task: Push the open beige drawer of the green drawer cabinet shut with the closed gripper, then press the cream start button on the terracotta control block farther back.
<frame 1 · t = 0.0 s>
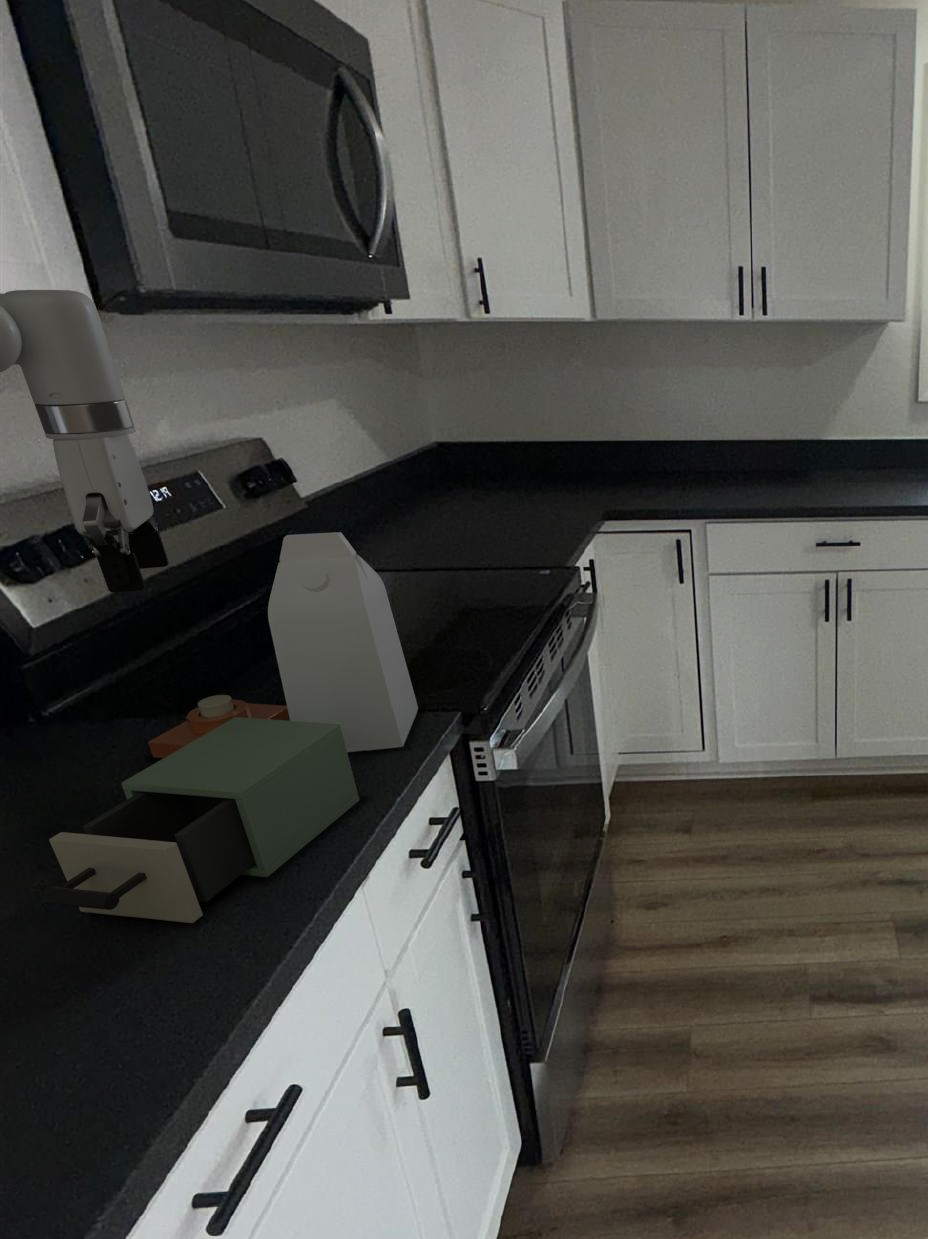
hand: (141, 578, 99), 23 cm above the counter, tool pointing down, fingers open, 9 cm apart
beige drawer: (164, 852, 81), point 5 cm above the counter, slide at 7.0 cm
control block: (226, 738, 113), on the counter
start button: (216, 706, 111), point 4 cm above the counter, slide at 0.1 cm
milk: (361, 733, 115), on the counter
green drawer cabinet: (262, 831, 93), on the counter
coffee jar: (370, 687, 128), on the counter
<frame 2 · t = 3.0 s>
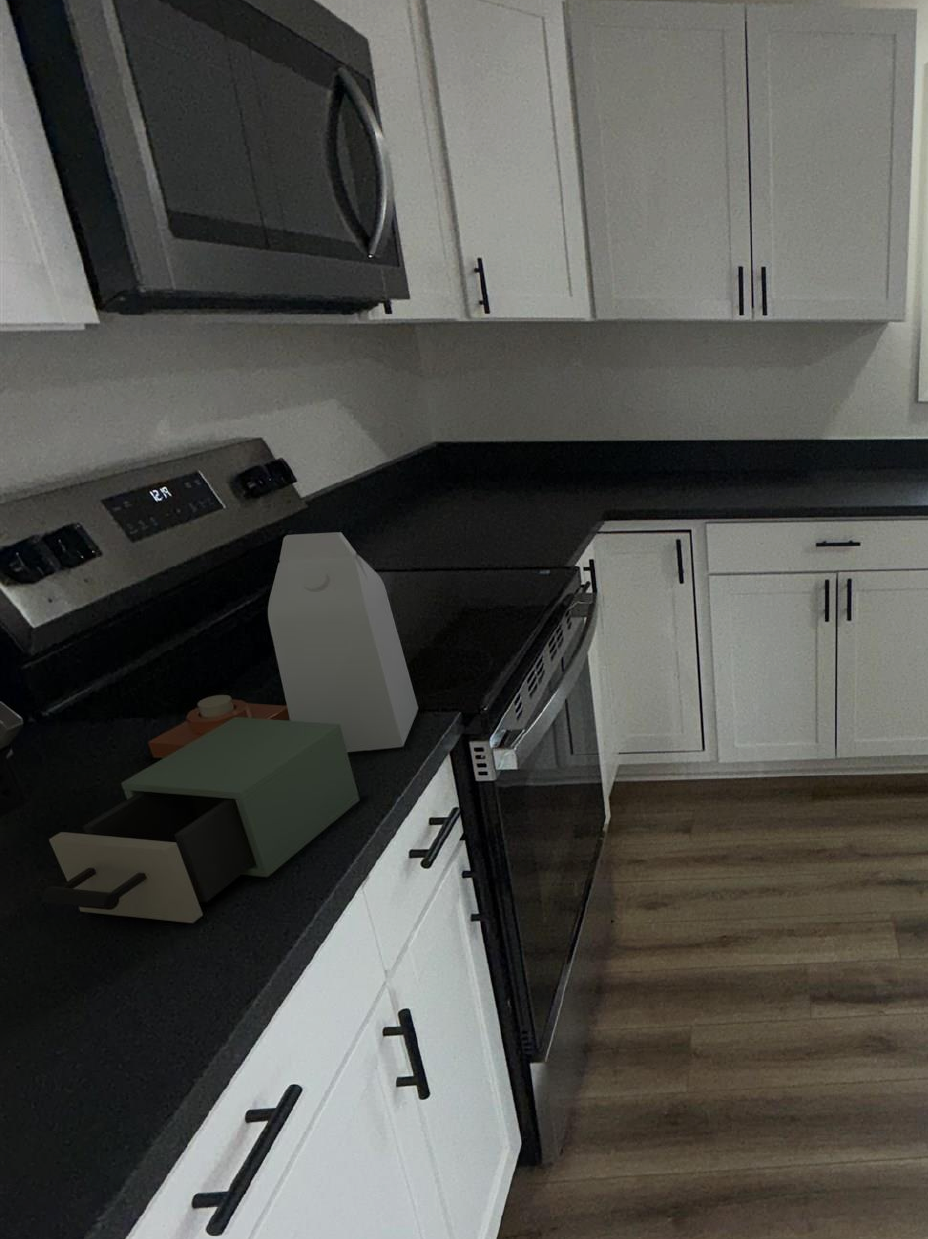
nothing on the counter moved.
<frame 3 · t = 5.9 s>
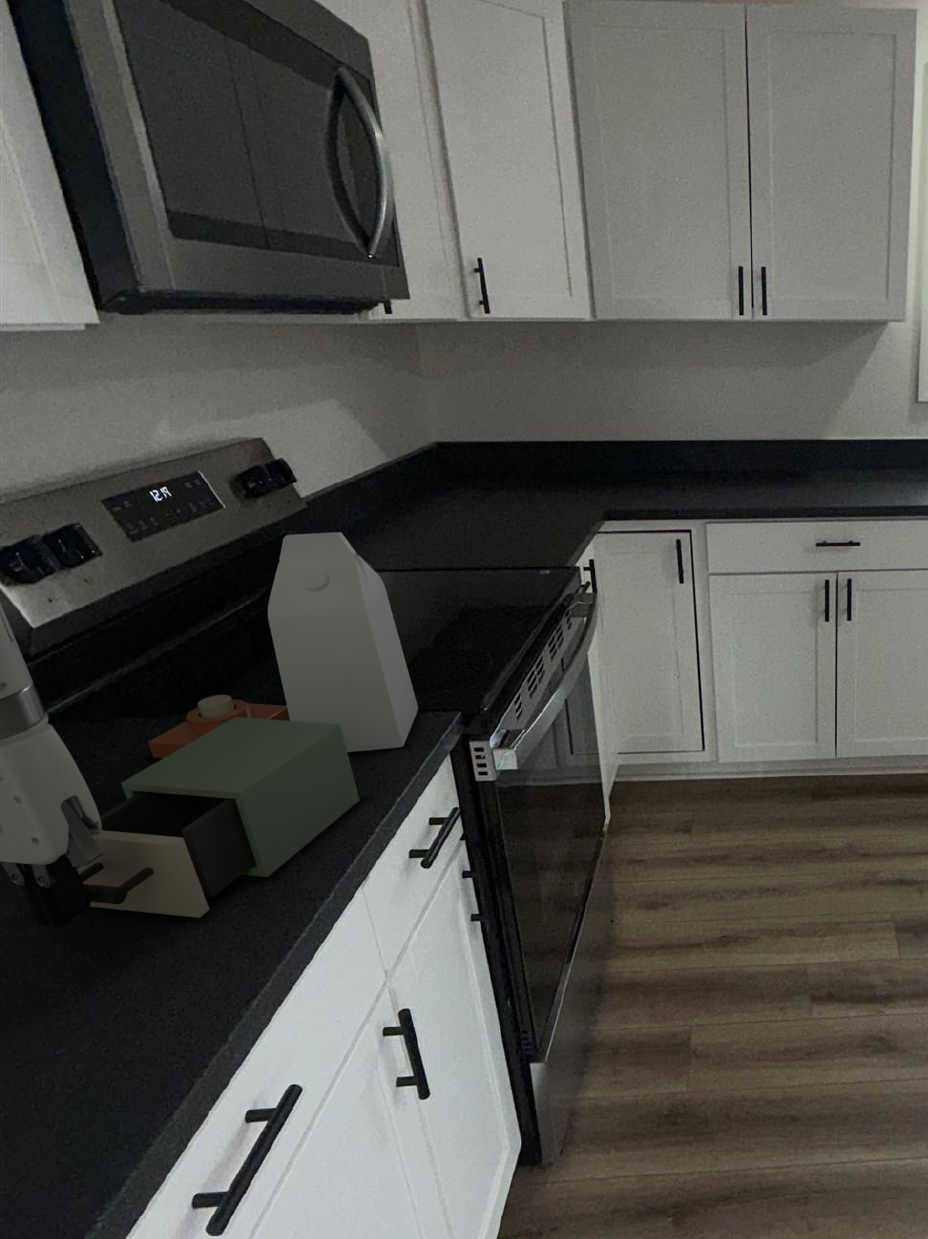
hand: (66, 915, 73), 5 cm above the counter, tool pointing down, fingers closed
beige drawer: (170, 847, 82), point 5 cm above the counter, slide at 6.2 cm, touching gripper
everything else where it was.
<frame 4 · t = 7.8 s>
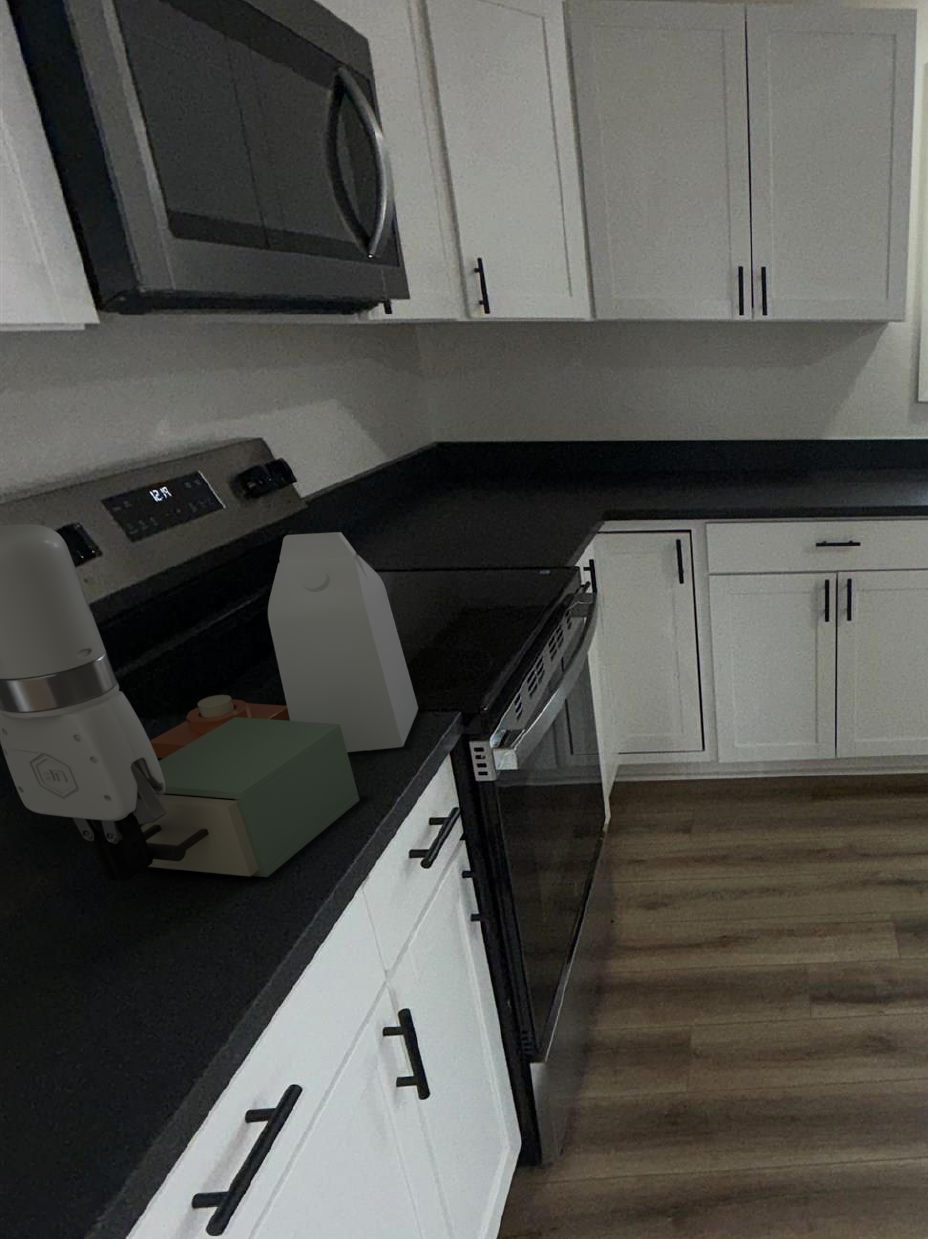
hand: (131, 871, 78), 5 cm above the counter, tool pointing down, fingers closed
beige drawer: (221, 812, 88), point 5 cm above the counter, slide at 0.0 cm, touching green drawer cabinet, gripper
everything else where it was.
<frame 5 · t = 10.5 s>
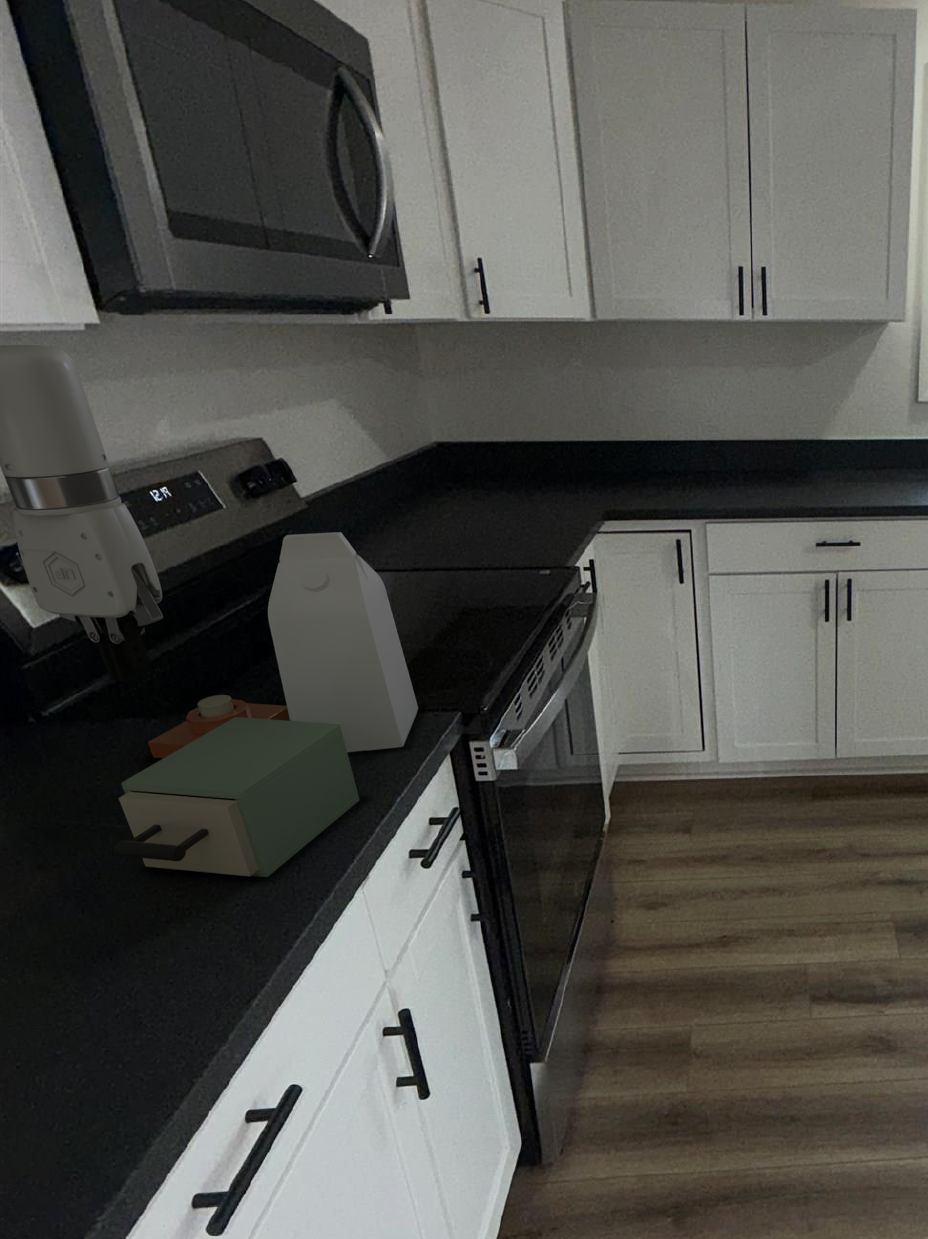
hand: (132, 675, 88), 17 cm above the counter, tool pointing down, fingers closed
beige drawer: (221, 812, 88), point 5 cm above the counter, slide at 0.0 cm, touching green drawer cabinet
everything else where it was.
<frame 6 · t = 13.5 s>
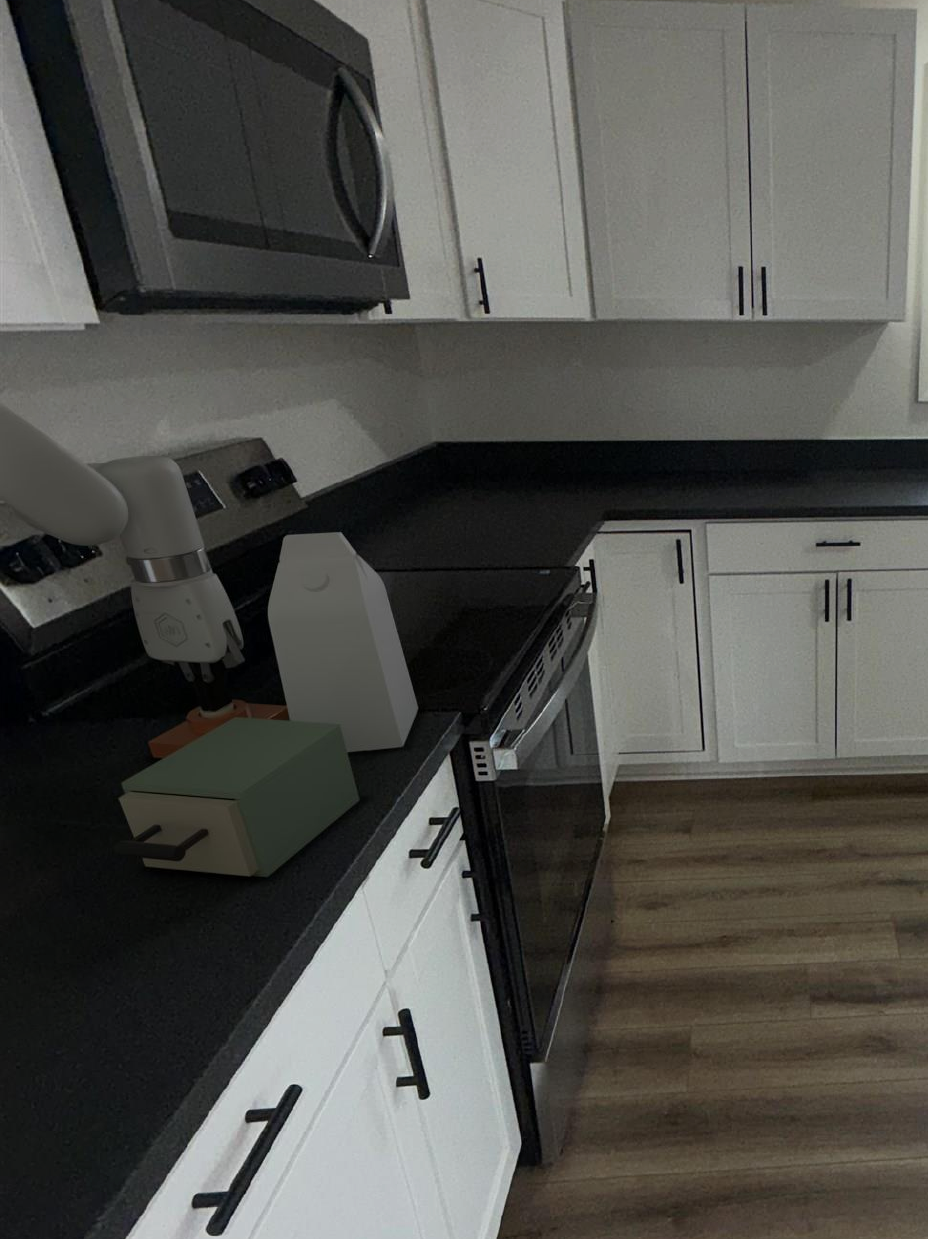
hand: (217, 706, 111), 4 cm above the counter, tool pointing down, fingers closed
start button: (218, 713, 111), point 4 cm above the counter, slide at -0.8 cm, touching gripper
everything else where it was.
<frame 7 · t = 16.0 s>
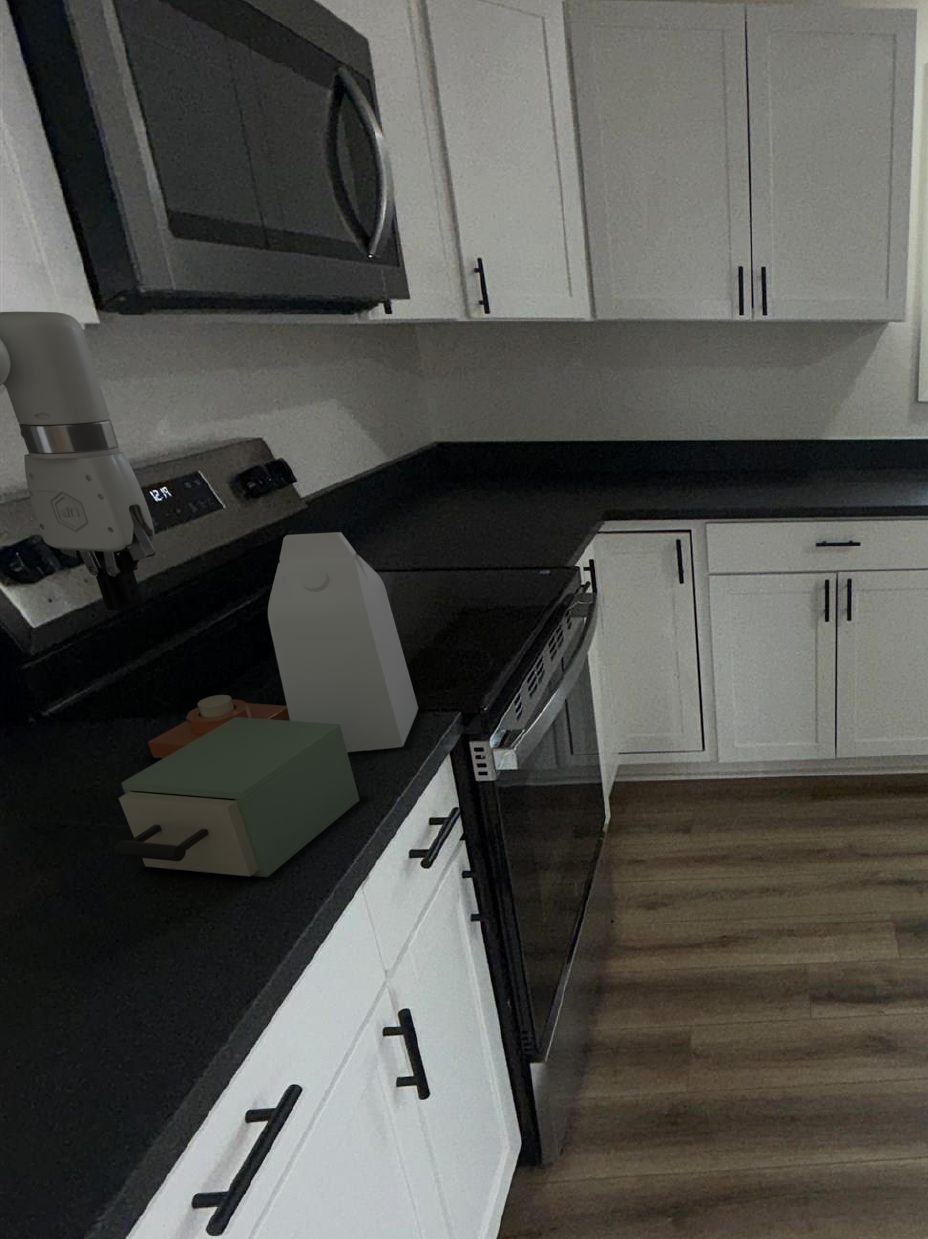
hand: (125, 606, 100), 20 cm above the counter, tool pointing down, fingers closed
start button: (216, 706, 111), point 4 cm above the counter, slide at 0.1 cm
everything else where it was.
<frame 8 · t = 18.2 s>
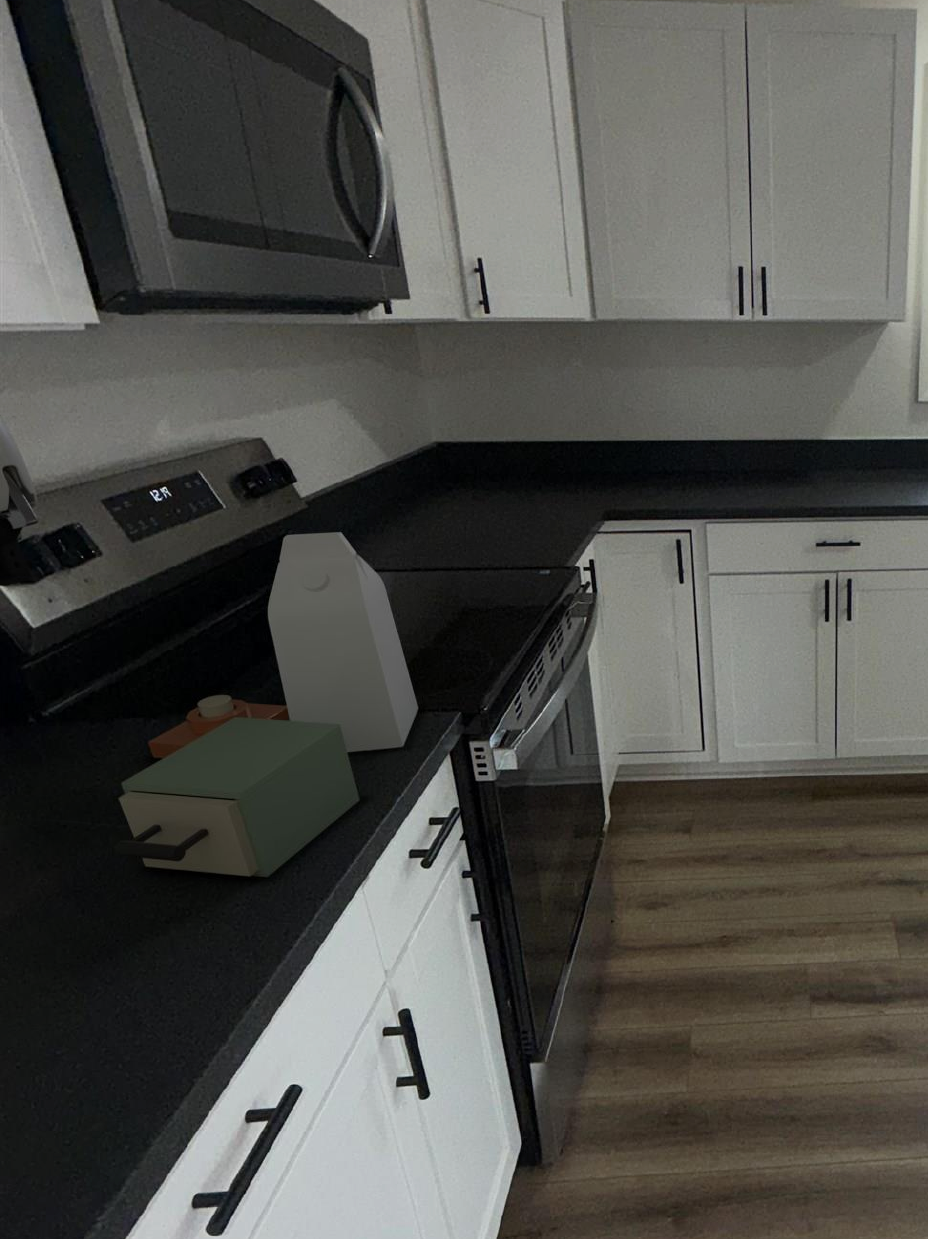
hand: (10, 581, 90), 25 cm above the counter, tool pointing down, fingers closed
nothing on the counter moved.
at the end: beige drawer slide at 0.0 cm; start button pushed in 1.1 cm at the most during the clip, back to where it started at the end; start button slide at 0.1 cm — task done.
